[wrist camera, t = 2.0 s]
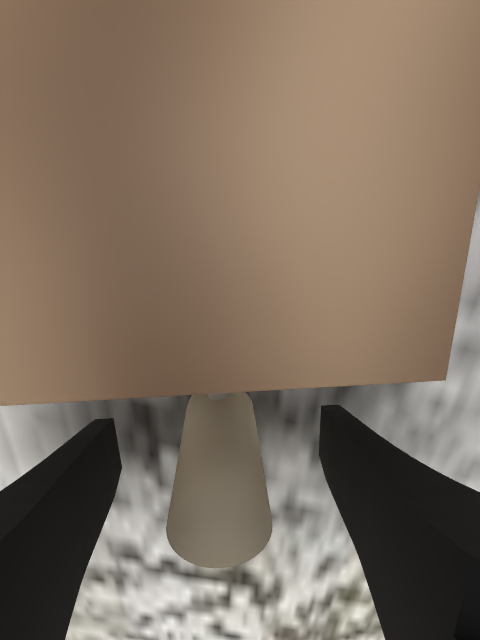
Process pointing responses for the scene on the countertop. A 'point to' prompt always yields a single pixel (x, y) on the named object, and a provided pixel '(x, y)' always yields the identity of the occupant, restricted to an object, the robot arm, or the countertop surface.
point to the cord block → (219, 484)
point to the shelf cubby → (233, 194)
